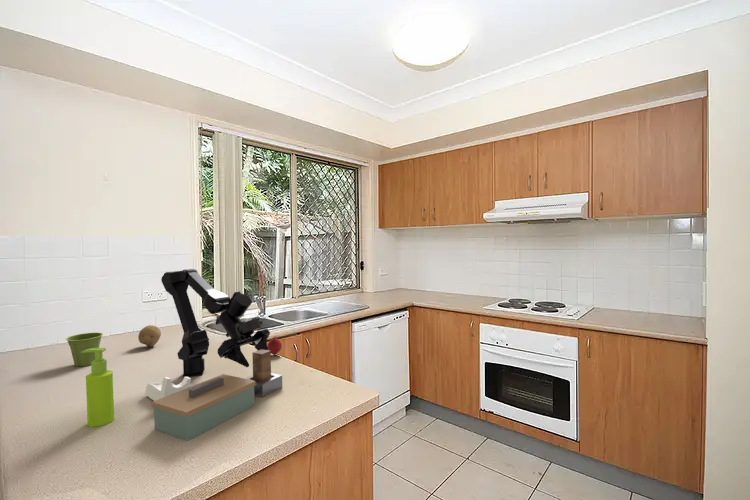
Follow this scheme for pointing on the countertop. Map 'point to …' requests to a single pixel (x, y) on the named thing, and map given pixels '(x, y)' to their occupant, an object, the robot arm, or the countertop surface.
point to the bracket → (165, 388)
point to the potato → (149, 335)
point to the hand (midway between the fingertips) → (258, 362)
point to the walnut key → (261, 365)
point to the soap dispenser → (99, 391)
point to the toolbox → (203, 406)
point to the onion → (274, 345)
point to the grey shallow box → (267, 385)
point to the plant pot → (84, 347)
